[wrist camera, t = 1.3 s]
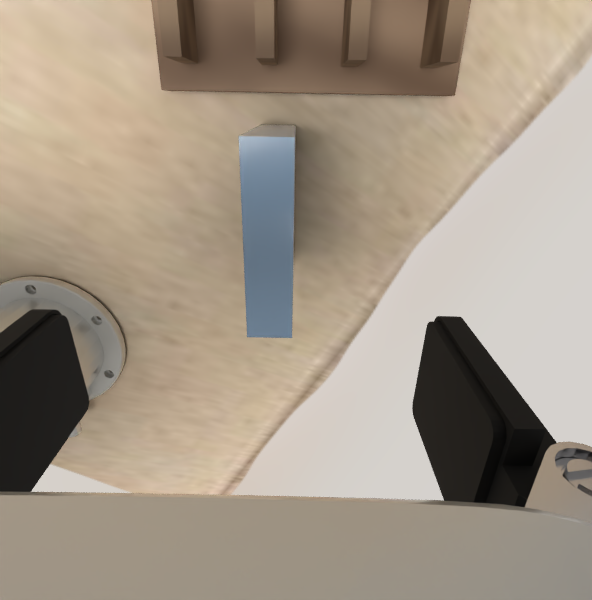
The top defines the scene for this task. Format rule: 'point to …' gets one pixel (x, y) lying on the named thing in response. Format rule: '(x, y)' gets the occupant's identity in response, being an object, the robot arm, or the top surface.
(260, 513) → the robot arm
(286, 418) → the top surface
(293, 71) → the rack
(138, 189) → the top surface
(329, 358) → the top surface
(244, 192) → the tile
